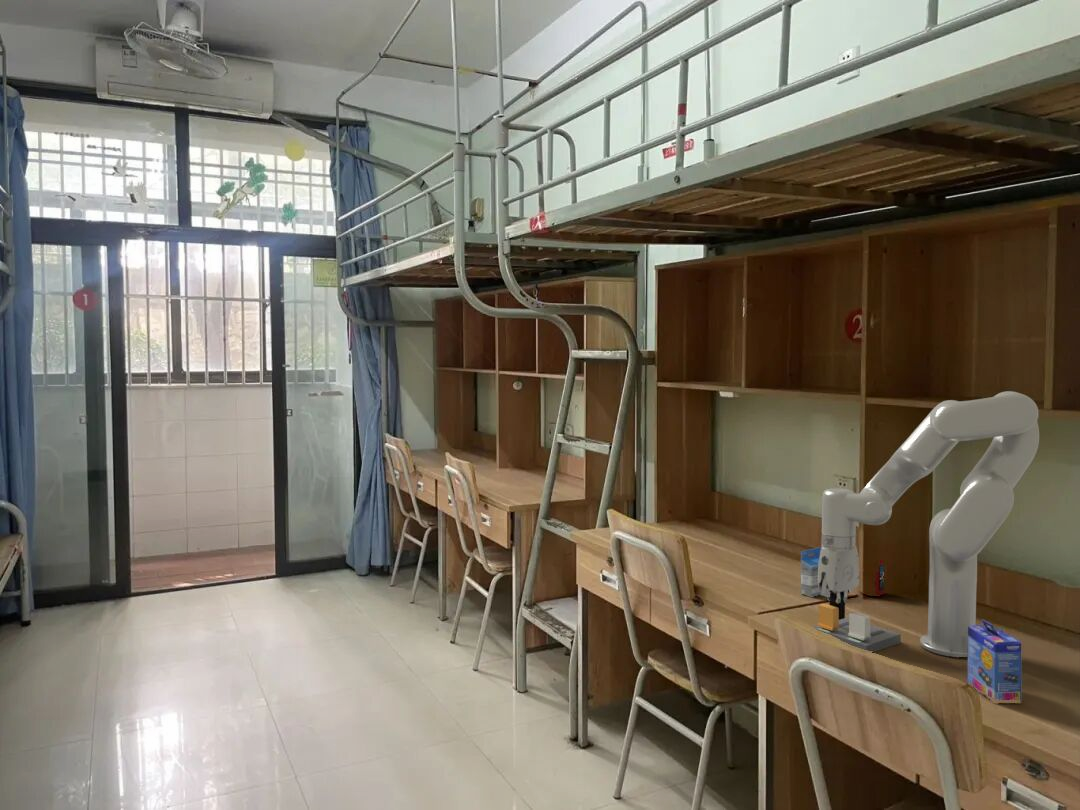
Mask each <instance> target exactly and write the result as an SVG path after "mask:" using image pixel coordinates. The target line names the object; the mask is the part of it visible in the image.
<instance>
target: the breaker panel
mask: <svg viewBox="0 0 1080 810" xmlns="http://www.w3.org/2000/svg"><path fill="white" fill-rule="evenodd" d="M838 626H840V628H839V629H836V630H833V631H831V630H828V629H825V628H822V627H819V626H817V624H816V625H811V627H813V628H815V629H817V630H819V631H822V632H824V633H827V634H830V635H832V636H834V637H836V638H838V639H840V640H841V641H843V642H846V643H848V644H850V645H852V646H855V647H858V648H861V649H864V650H868V651H873V652H872V653H874V652H878V651H881V650H884V649H887V648H890V647H892V646H895V645H898V644H900V643H901V639H902V638H901V635H902V634H901V633H898V632H896V631H893V630H888V629H885V628H883V627H878V626H875V625H872V624H870V636H871V638H870V639H867V640H864V641H863V640H860V639H857V638H854V637H851V636H848V633H849V617H846V616H845V618H844V619H841V620H839V623H838Z"/></svg>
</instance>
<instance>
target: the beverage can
mask: <svg viewBox="0 0 1080 810" xmlns="http://www.w3.org/2000/svg"><path fill="white" fill-rule="evenodd" d="M882 562H884V559H881V560H880V563H882ZM880 566H881V565H880ZM883 568H884V567H883V566H881V569H880V567H879V570H880V571H879V570H878V572H877V573H876V575H875V576H877V577H876V581H875V582H874V583H875V584H874V585H876V586H875V587H876V595H881V596H882V595H884V594H885V590H884V584H883V583H884V578H883V576H884V572H883V570H882V569H883ZM877 574H878V575H877Z"/></svg>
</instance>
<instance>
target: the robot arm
mask: <svg viewBox="0 0 1080 810" xmlns="http://www.w3.org/2000/svg"><path fill="white" fill-rule="evenodd" d="M1038 408H1039V407H1038V405H1037V404H1036V402H1035V401H1034V400H1033V399H1032V398H1030V397H1029V396H1027V395H1026V394H1023V393H1020V392H1017V391H1012V390H1011V391H1010V390H1007V391H1002V392H999V393H997V394H996V395H994V396H992V397H986V398H985V397H983V398H979V399H972V400H962V401H959V400H954V399H950V400H949V399H948V400H943V401H941V402H940V403H938V404H937V405H936V406H935V407H933V408H932V409H931V411H930V412H929V413H928V414H927V416H926V417H925V418H924V419H923V420H922V422H921V423H920V424H919V425H918V426H917V427H916V428H915V429H914V430H913V432H912V433H911V434H910V435H909V436H908V438H907V439H905V441H904V442H903V443H902V444H901V445H900V447H898V448H897V450H895V452H894V453H893V454H892V455H891V457H890V458H889V460H888V461H886V463H885V464H884V465H883V466H882V467H880V469H879V470H878V471H877V473H875V475H874V476H873V477H872V478H871V479H870V480H869V482H867V484H866V486H864V488H863V489H862V490H861V491H860V493H855V491H853V490H850V489H848V488H840V487H838V488H827V489H825V490H824V491H823V493H822V498H821V500H822V501H821V503H822V505H821V506H822V507H821V547H822V548H821V551H820V557H819V566H818V586H819V588H821V595H820V596H822V597H825V598H827V601H829V604H828V605H831V606H834V607H838V608H839V620H841V619H844V618H845V617H846V602H847V600H848V595H849V593H851V592H852V591H853V590H854V589H857V588H858V586H859V582H860V572H859V553H858V547H857V545H856V539H857V538H856V537H857V536H856V533H857V528H856V526H857V523H859V524H860V523H861V524H864V525H870V526H880V525H881V526H882V525H883V524H885V523H887V522H888V521H889V520H890V518H891V516H892V512H893V506H894V505H895V503H896V502H897V501H898V500H899V499H900V497H902V496H903V494H904V493H905V492H906V491H907V490H908V489H909V488H910V487H911V486H912V485H914V484H915V483H916V482H917V481H919V480H921V479H923V478H926V476H928V475H930V474H931V473H932V472H933V471H934V470H935V469H936V468H937V467H938V466H939V464H940V463H941V462H942V461H943V460H944V458H946V456H947V455H948V454H949V453H950V452H951V451H952V450H953V449H954V448H955V446H957V445H958V443H959V442H966V441H977V440H984V439H990V438H992V441H991V443H990V445H989V446H988V448H987V449H986V451H985V453H984V454H983V455H982V457H981V458H980V459H979V460H978V462H977V463H976V464H975V466H974V467H973V469H971V471H970V472H969V473H968V474H967V476H966V477H965V478H964V479H963V481H962V482H961V484H960V489H959V494H960V496H959V497H958V498H957V500H956V501H955V503H954V504H953V505H952V507H951V508H945V509H942V510H940V511H939V512H937V513H936V514H935V515H934V516H933V518H932V519H931V521H930V525H929V534H928V537H929V538H928V539H929V577H928V610H927V611H928V614H927V615H928V617H927V618H928V619H927V634H925V635H922V636H921V637H920V639H919V643H920V646H921V647H923V649H925V650H927V651H929V652H931V653H934V654H936V655H940V656H945V657H950V656H951V657H952V658H959V657H968V626H974V625H976V622H977V621H976V619H977V618H976V617H977V616H976V615H977V586H978V585H977V584H978V583H977V582H978V554H979V553H981V551H982V550H983V549H984V548H985V546H986V545H987V544H988V542H989V541H990V540H991V539H992V538H993V536H994V535H995V533H996V532H997V531H998V529H999V528H1001V526H1002V525H1003V523H1004V522H1005V520H1006V519H1007V518H1008V516H1009V515H1010V513H1011V511H1012V509H1013V507H1014V503H1015V494H1014V491H1013V489H1014V488H1015V487H1016V485H1017V484H1018V482H1019V481H1020V479H1021V478H1022V476H1023V475H1024V474H1025V472H1026V470H1027V469H1028V468H1029V466H1030V465H1031V464H1032V462H1033V460H1034V458H1035V457H1036V454H1037V451H1038V449H1039V445H1040V443H1039V442H1040V428H1039V423H1038V420H1039V409H1038Z"/></svg>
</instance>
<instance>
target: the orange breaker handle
mask: <svg viewBox="0 0 1080 810" xmlns="http://www.w3.org/2000/svg"><path fill="white" fill-rule="evenodd" d="M838 623H839V608H838V607H834V606H831V605H829V604H827V603H821V604H818V623H816V625H817V626H819V627H822V628H825V629H828V630H831V631H833V630H836V629H839V628H840V626H838Z"/></svg>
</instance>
